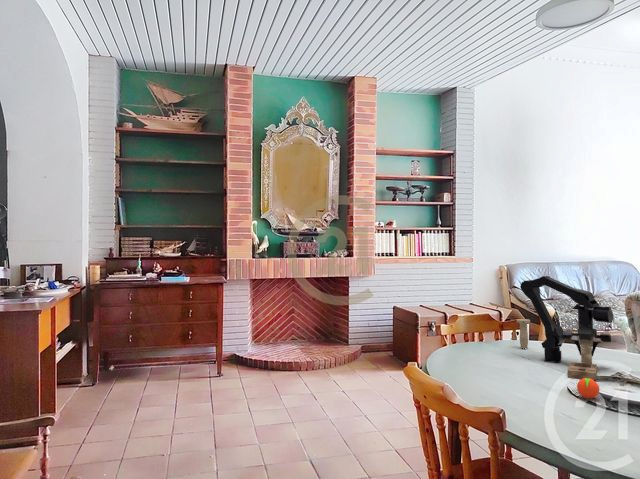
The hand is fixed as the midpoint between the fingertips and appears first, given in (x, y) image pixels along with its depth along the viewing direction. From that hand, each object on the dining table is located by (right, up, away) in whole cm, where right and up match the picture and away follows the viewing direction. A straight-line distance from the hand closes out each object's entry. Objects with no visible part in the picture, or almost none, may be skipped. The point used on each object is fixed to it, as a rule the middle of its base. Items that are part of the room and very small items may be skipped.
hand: (586, 355), depth 206 cm
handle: (-11, -6, +37) cm, 39 cm away
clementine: (-22, -5, -40) cm, 46 cm away
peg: (0, -3, 0) cm, 3 cm away
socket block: (-8, -5, -11) cm, 15 cm away
